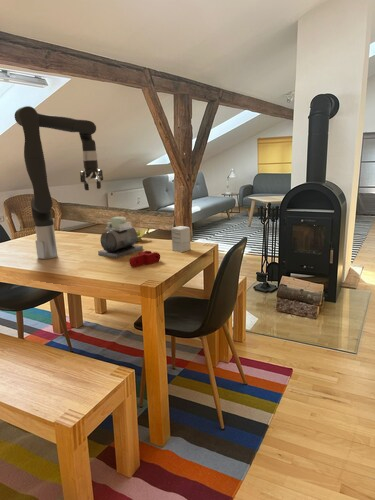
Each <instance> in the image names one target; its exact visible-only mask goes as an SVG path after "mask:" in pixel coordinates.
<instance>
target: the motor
mask: <svg viewBox="0 0 375 500" xmlns="http://www.w3.org/2000/svg"><path fill="white" fill-rule="evenodd" d="M118 225H119V228H114V227H112V224H111V221H110V222H106V227H105V228H104V229H105V230H107V231H105V232H103V233H102V234H101V236H100V244H101V247H102V249H101V250H98V251H97V254H98V255H99V256H102V257H108V258H115V259H119V258H122V257H125V256H128V255H131V254H133V253H137V252H139V251H142V250H144V248H143V247H144V246H143V245H138V244H137V242H138V241H137V239H138V236H137V232H136V231H137V230H136V229H135V228H134V227H133V225H132V222H131V221H126V223H122V224H118Z"/></svg>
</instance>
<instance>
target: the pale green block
mask: <svg viewBox="0 0 375 500" xmlns="http://www.w3.org/2000/svg"><path fill="white" fill-rule="evenodd" d="M110 222H111V224H112V227H114V228H119V225H118V224H122V223H126V222H127V218H126V216H115V217H110Z"/></svg>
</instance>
